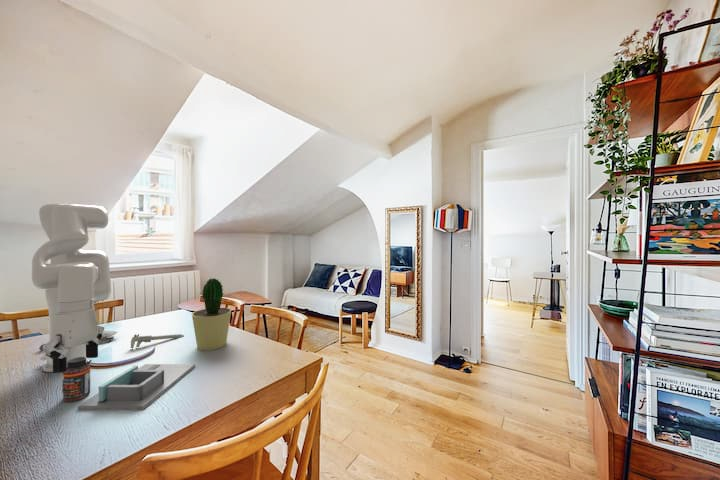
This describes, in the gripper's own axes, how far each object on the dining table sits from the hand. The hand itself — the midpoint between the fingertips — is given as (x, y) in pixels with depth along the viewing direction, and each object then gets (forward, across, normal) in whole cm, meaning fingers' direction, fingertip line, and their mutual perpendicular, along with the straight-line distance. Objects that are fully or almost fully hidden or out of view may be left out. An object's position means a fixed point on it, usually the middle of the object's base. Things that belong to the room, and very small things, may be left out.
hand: (76, 364), depth 84 cm
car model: (+9, -42, -38) cm, 58 cm away
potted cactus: (+10, -41, +19) cm, 46 cm away
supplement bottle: (+10, -1, -1) cm, 10 cm away
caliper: (+10, -44, -6) cm, 45 cm away
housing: (+10, -7, +14) cm, 19 cm away
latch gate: (+9, -3, +10) cm, 14 cm away
